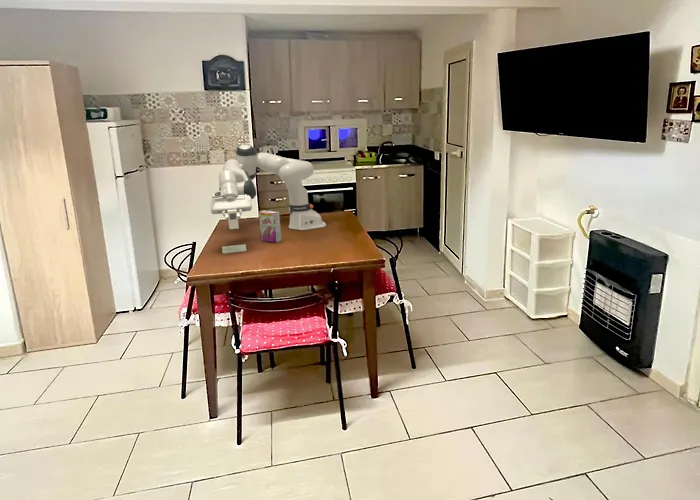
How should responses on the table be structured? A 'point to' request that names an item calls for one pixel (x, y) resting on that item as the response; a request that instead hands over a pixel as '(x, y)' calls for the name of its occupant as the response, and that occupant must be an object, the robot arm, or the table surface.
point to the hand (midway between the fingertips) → (232, 218)
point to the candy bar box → (270, 226)
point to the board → (233, 249)
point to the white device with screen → (233, 219)
